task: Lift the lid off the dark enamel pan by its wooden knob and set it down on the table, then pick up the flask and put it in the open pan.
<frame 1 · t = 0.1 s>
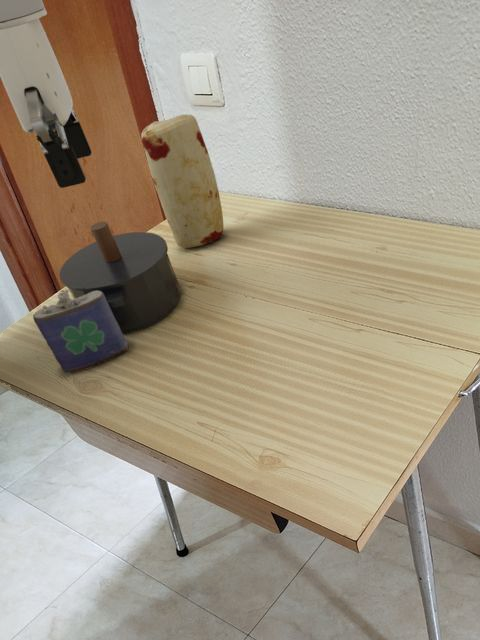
hand: (77, 170, 74), 21 cm above the table, tool pointing down, fingers open, 9 cm apart
flask: (97, 360, 81), on the table
pan lid: (114, 261, 84), point 7 cm above the table, touching pan
food model: (204, 242, 102), on the table
pan: (134, 305, 90), on the table
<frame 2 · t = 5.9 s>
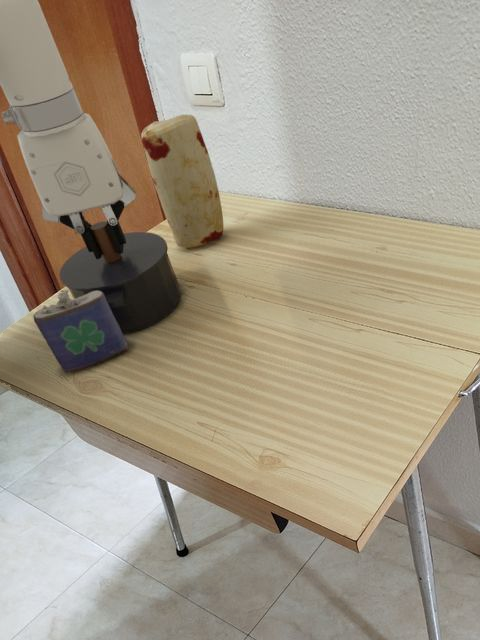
hand: (110, 250, 83), 9 cm above the table, tool pointing down, fingers closed on pan lid, 2 cm apart
pan lid: (114, 261, 84), point 8 cm above the table, touching gripper, pan
everything else where it was.
when the fingers open (2 cm above the table, at t = 14.6 s): pan lid stays where it is, point 1 cm above the table.
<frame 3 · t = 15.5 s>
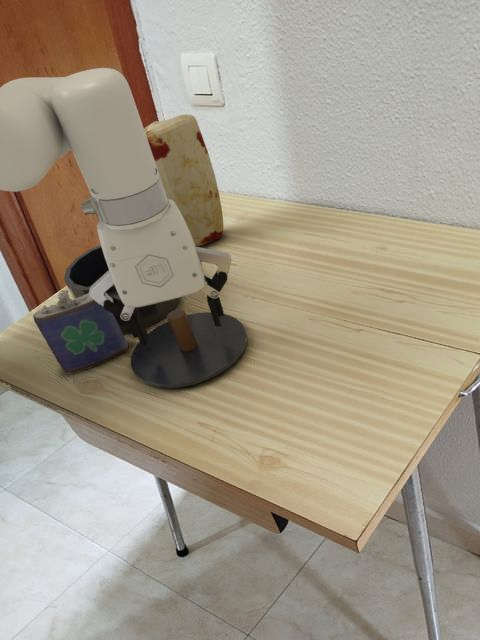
hand: (181, 330, 76), 4 cm above the table, tool pointing down, fingers open, 9 cm apart
pan lid: (189, 349, 78), point 1 cm above the table
everything else where it was.
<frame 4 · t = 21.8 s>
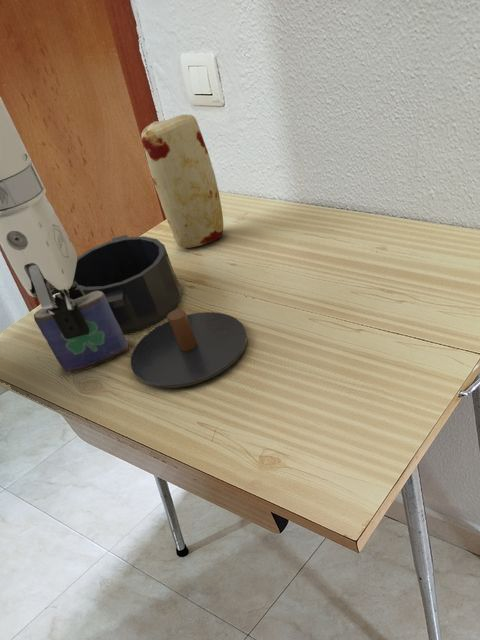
hand: (78, 325, 77), 6 cm above the table, tool pointing down, fingers closed on flask, 3 cm apart
flask: (97, 360, 81), on the table, touching gripper
everything else where it was.
when the fingers open (6 cm above the table, at t = 29.5 s): flask stays where it is, resting on pan.
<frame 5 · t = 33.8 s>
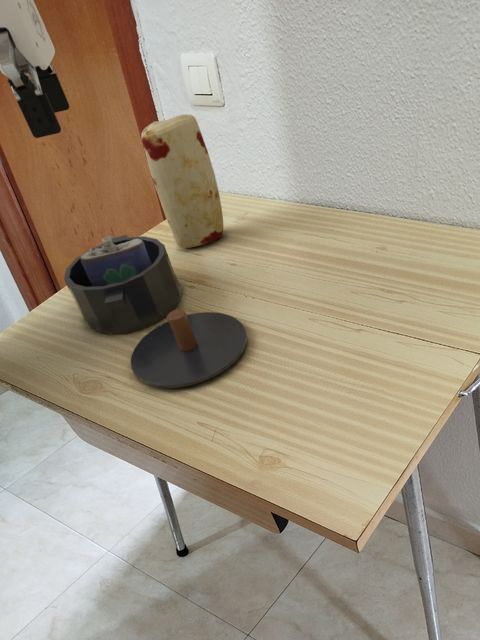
hand: (53, 122, 71), 26 cm above the table, tool pointing down, fingers open, 9 cm apart
flask: (134, 304, 89), resting on pan
everything else where it was.
at the end: pan lid inside the target area (0.0 cm from its centre), point 0.6 cm above the table; flask inside the target area in the pan (0.2 cm from its centre), point 0.3 cm above the pan's base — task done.
